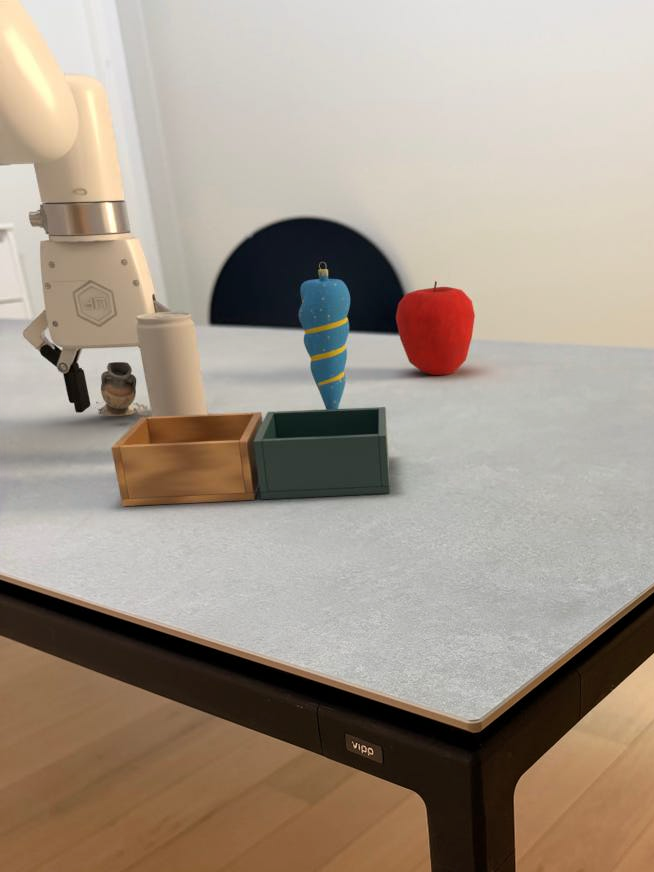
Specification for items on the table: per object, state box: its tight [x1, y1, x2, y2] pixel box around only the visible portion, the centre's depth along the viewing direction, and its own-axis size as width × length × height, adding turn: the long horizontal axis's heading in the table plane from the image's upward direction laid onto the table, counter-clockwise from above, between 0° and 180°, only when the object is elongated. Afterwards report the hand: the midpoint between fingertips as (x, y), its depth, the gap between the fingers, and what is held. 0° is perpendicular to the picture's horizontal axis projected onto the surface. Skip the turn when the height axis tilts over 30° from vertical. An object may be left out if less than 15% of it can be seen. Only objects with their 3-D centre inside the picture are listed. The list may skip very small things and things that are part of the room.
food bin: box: [110, 411, 263, 507], centre depth 77 cm, size 10×10×5 cm
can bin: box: [254, 406, 391, 500], centre depth 78 cm, size 10×10×5 cm
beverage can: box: [136, 311, 208, 417], centre depth 84 cm, size 5×5×12 cm
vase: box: [91, 361, 149, 417], centre depth 98 cm, size 5×5×6 cm
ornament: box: [298, 261, 351, 410], centre depth 95 cm, size 5×5×15 cm
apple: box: [395, 280, 476, 376], centre depth 117 cm, size 10×10×11 cm
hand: (122, 407), depth 99 cm, fingers open, 7 cm apart
